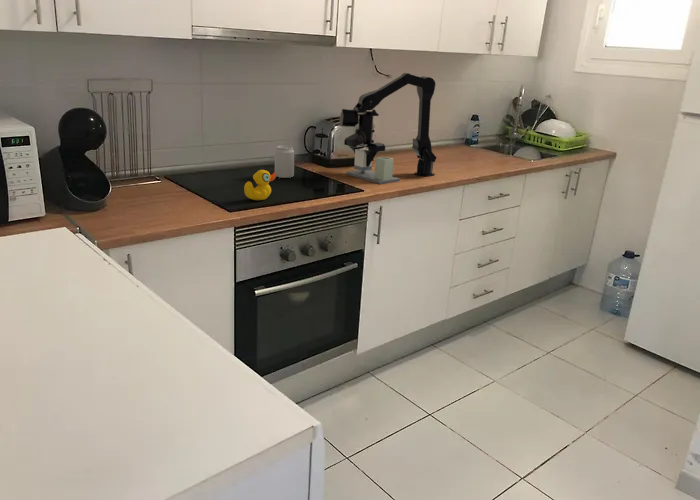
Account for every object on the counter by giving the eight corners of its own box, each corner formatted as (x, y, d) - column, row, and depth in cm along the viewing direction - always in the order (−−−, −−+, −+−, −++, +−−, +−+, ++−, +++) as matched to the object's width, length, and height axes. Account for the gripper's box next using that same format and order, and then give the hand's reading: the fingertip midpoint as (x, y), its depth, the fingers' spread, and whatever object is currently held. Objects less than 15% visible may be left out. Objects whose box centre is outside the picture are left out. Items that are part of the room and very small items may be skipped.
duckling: (271, 196, 200) (272, 167, 197) (279, 199, 196) (279, 170, 193) (241, 199, 194) (241, 169, 190) (248, 203, 190) (248, 173, 186)
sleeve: (363, 167, 242) (364, 148, 240) (371, 169, 239) (372, 150, 236) (354, 168, 239) (355, 149, 236) (362, 171, 236) (363, 151, 233)
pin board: (365, 171, 246) (366, 150, 243) (399, 181, 233) (401, 158, 229) (346, 174, 239) (347, 152, 236) (380, 184, 225) (382, 161, 222)
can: (290, 180, 224) (291, 149, 220) (271, 178, 225) (272, 147, 221) (296, 176, 231) (296, 145, 227) (278, 174, 232) (278, 144, 228)
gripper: (335, 124, 234) (333, 163, 240) (367, 131, 222) (364, 171, 227) (355, 123, 242) (353, 160, 247) (387, 129, 229) (384, 168, 234)
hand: (363, 165), depth 239 cm, fingers closed on sleeve, 5 cm apart
